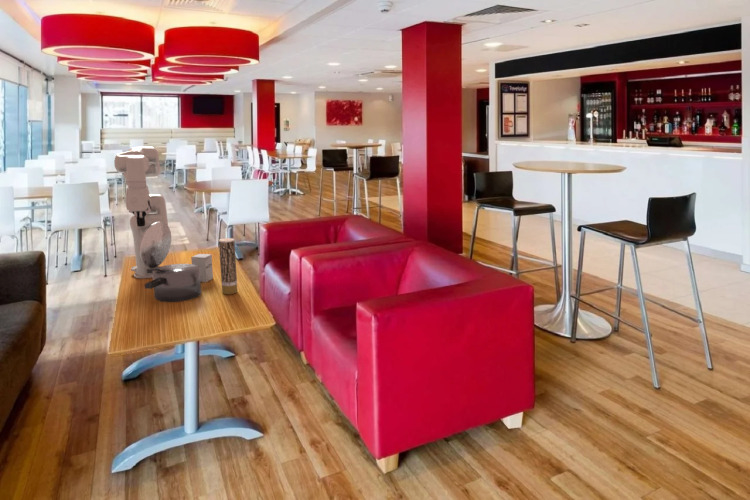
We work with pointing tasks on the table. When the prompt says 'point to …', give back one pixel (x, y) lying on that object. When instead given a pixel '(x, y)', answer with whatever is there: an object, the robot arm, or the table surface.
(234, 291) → the brown cylindrical piece
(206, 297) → the table surface
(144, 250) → the cooker lid
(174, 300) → the pressure cooker pot
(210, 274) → the supplement box
